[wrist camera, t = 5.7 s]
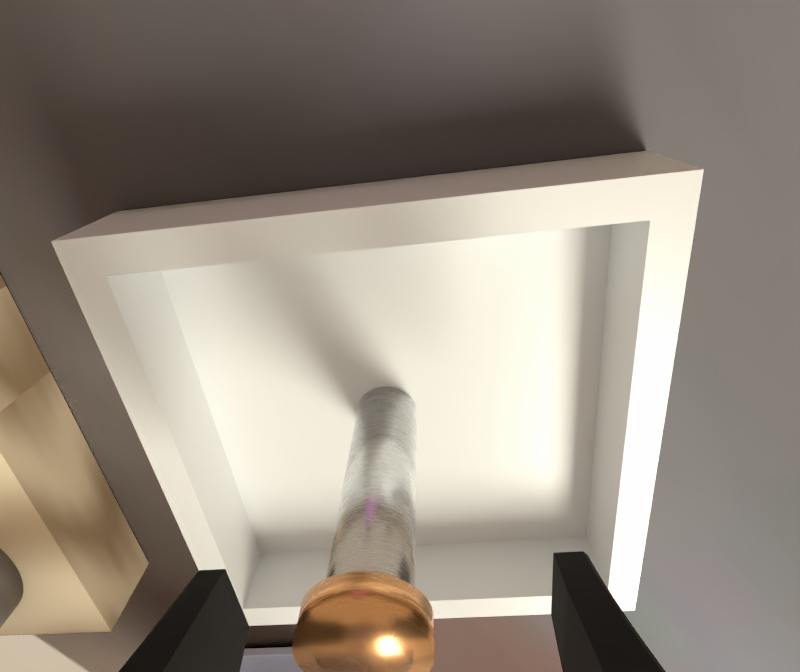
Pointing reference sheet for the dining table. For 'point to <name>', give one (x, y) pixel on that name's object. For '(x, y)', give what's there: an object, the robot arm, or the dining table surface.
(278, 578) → the tray
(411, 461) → the pin
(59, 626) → the block
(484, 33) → the dining table surface
